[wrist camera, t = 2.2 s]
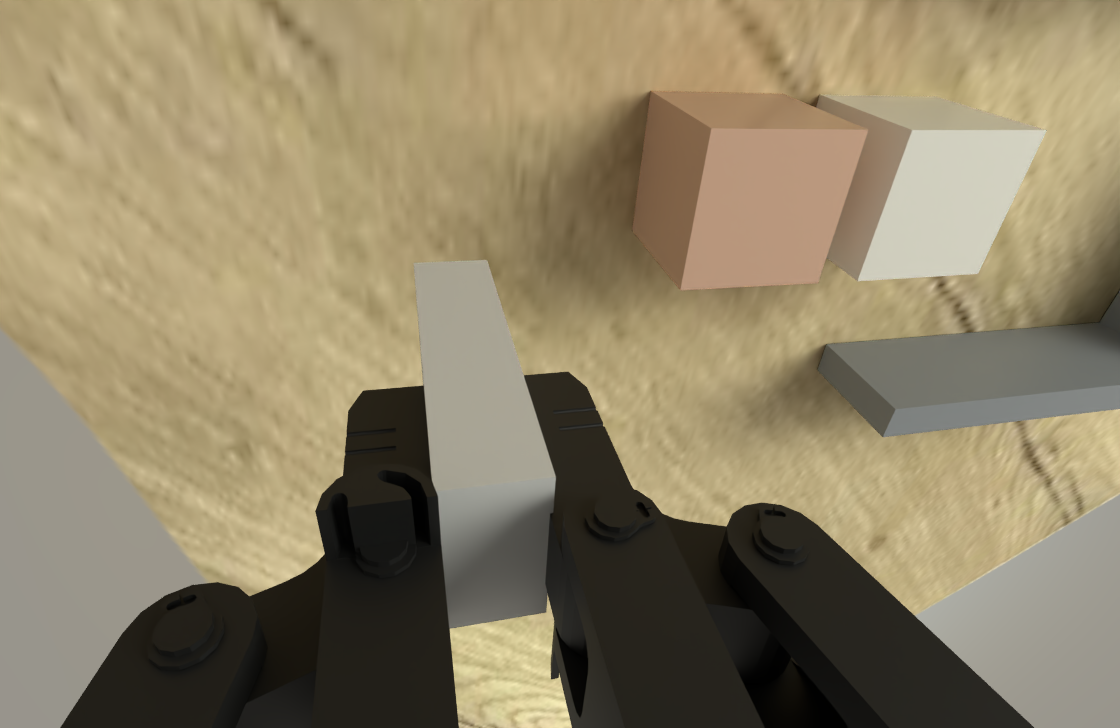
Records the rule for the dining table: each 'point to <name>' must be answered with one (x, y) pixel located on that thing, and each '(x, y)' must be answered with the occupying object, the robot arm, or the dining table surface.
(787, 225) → the tile
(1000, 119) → the tile
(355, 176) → the dining table surface
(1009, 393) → the box
